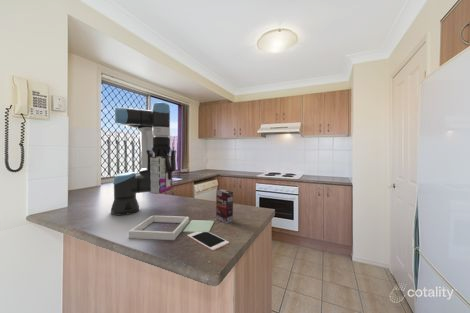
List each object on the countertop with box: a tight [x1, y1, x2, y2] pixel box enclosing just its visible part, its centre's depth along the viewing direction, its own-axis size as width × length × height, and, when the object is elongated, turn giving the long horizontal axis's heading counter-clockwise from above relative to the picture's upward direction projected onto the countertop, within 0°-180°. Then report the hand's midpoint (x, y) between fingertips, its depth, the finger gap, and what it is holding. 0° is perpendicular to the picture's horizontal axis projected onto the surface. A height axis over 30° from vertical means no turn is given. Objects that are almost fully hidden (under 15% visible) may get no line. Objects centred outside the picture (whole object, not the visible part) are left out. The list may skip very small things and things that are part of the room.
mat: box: [182, 219, 215, 234], centre depth 97 cm, size 12×14×1 cm
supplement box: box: [215, 189, 234, 224], centre depth 106 cm, size 9×5×16 cm, turn 47°
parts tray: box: [128, 215, 190, 241], centre depth 94 cm, size 20×20×3 cm
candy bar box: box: [150, 155, 173, 195], centre depth 93 cm, size 11×5×16 cm, turn 169°
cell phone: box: [186, 232, 230, 252], centre depth 84 cm, size 9×18×1 cm, turn 45°
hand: (161, 186), depth 93 cm, fingers closed on candy bar box, 5 cm apart
